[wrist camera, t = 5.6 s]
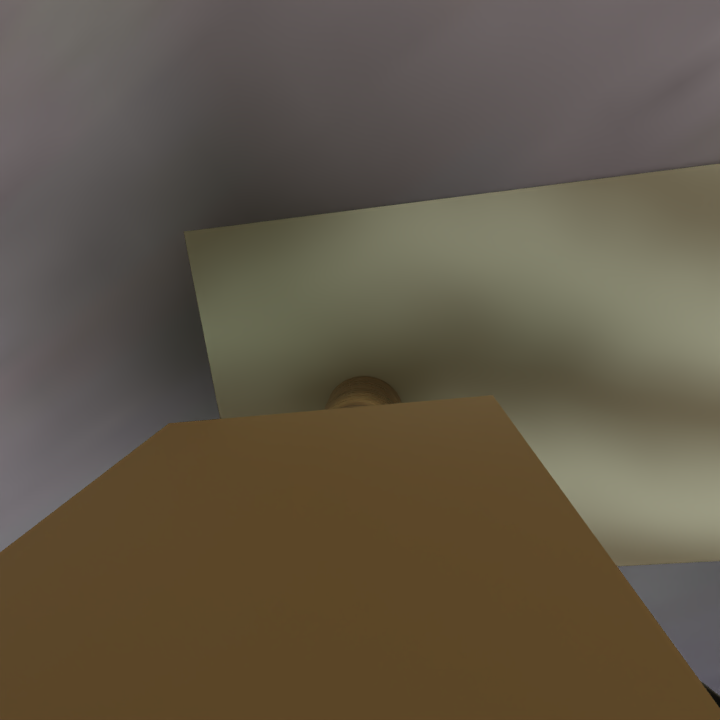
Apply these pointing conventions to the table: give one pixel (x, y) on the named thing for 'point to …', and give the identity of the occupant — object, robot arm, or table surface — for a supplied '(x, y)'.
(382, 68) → the table surface
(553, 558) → the tan wooden cube
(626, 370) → the birch board
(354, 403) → the copper post
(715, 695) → the robot arm
